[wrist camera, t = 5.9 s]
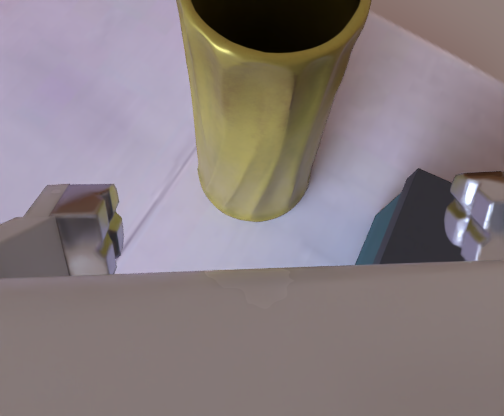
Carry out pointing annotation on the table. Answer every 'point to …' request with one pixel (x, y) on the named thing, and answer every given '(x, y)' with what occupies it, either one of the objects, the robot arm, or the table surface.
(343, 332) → the robot arm
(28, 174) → the table surface
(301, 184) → the vase
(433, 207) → the lunchbox
